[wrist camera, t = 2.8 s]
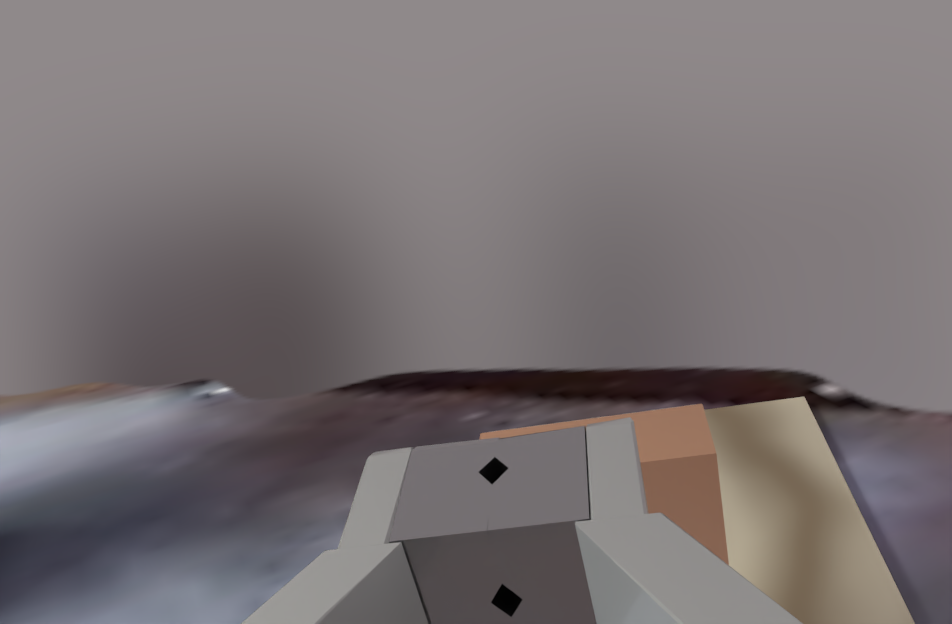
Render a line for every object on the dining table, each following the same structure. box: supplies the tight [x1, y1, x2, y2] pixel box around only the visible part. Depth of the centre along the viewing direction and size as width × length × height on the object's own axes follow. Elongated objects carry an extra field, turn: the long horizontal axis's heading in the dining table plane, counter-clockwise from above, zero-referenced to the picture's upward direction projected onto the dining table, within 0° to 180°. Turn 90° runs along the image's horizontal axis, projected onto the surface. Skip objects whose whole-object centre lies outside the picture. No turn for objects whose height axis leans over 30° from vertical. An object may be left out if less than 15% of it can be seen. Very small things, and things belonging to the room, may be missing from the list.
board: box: [479, 397, 915, 624], centre depth 38 cm, size 22×26×1 cm
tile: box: [480, 404, 729, 565], centre depth 28 cm, size 7×3×14 cm, turn 85°
